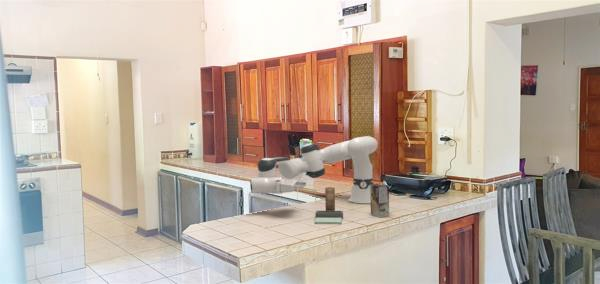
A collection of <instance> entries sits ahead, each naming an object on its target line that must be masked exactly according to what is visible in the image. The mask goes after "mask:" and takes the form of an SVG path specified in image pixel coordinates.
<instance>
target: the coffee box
mask: <svg viewBox="0 0 600 284" xmlns="http://www.w3.org/2000/svg"><path fill="white" fill-rule="evenodd" d="M389 187H390V186H389V185H388V184H383V183H373V184H370V191H371V203H370V215H371V216H374V217H378V218H385V217H390V188H389Z"/></svg>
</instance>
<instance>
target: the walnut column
mask: <svg viewBox="0 0 600 284" xmlns="http://www.w3.org/2000/svg"><path fill="white" fill-rule="evenodd" d="M324 193H325V196H324V197H325V211H336V203H335V202H336V195H335V194H336V189H335V187H333V186H332V187H330V186H327V187H325V189H324Z"/></svg>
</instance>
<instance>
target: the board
mask: <svg viewBox="0 0 600 284" xmlns="http://www.w3.org/2000/svg"><path fill="white" fill-rule="evenodd" d="M342 221H343V219H342V218H316V217H315V220H314V225H342V223H343V222H342Z"/></svg>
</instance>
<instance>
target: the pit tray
mask: <svg viewBox="0 0 600 284" xmlns="http://www.w3.org/2000/svg"><path fill="white" fill-rule="evenodd" d="M316 218H342V220H343V219H344V211H343V210H335V211H326V210H316V211H315V219H316Z"/></svg>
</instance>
